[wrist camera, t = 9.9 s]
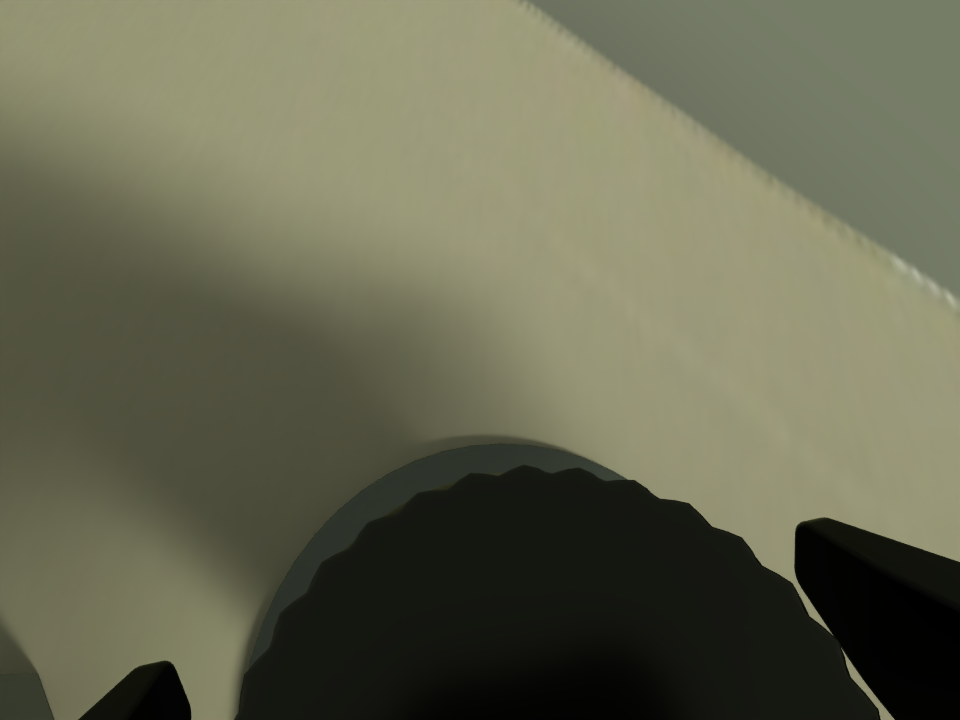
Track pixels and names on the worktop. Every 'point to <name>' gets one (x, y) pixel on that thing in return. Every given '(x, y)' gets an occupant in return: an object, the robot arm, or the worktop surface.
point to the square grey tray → (23, 698)
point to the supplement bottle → (548, 616)
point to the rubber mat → (399, 491)
